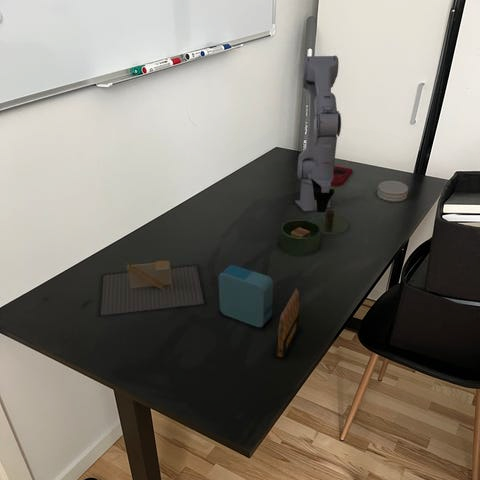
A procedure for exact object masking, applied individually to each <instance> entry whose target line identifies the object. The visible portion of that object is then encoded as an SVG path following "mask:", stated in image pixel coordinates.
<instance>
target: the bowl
mask: <svg viewBox="0 0 480 480" xmlns="http://www.w3.org/2000/svg"><path fill="white" fill-rule="evenodd" d="M299 227H300V228H303V229H305V230H307V231H310V237H306V238H299V237H293V236H290V235H291V232H292V231H293V230H295V229H297V228H299ZM321 234H322V233H321V229H320V226H319V225H318V224H316V223H314V222H312V221H310V220H308V219H302V218H301V219H297V218H296V219H290V220H287V221H285V222H284V223H282V225H281V226H280V238H279V239H280V240H279V242H280V243H279V245H280V247H281V248H282V249H283V250H285V251H286V252H288V253H292V254H297V255H298V254H299V255H304V254H309V253H313V252H315V251H317V250H318V249H319V247H320V243H321Z"/></svg>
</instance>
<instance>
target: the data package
mask: <svg viewBox="0 0 480 480" xmlns="http://www.w3.org/2000/svg"><path fill="white" fill-rule="evenodd" d="M218 295H219V310H220V312H221V314H222V315H224V316H226V317H229V318H232V319H233V320H237V321H240V322H242V323H245V324H248V325H249V326H253V327H256V328H262V327H264V325H265V324H266V323H267V322H268V321H269V320H270V319H271V317H272V316H273V301H274V299H273V297H274V281H273V278H271V276H269V275H266V274H263V273H260V272H256V271H253V270H250V269H247V268H245V267H240V266H237V265H234V264H229V266H227V268H225V269H224V270H223V271H222V272H221V273H219V274H218Z"/></svg>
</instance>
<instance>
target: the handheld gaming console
mask: <svg viewBox="0 0 480 480" xmlns="http://www.w3.org/2000/svg"><path fill="white" fill-rule="evenodd" d="M352 172H353V169H352V168H348V167H342V166H337V165H334V170H333V175H334V177H333V180H332V182H331V187H333V186H334V187H338V186H339V187H340V186H342V185H343V184H344V183H345V182H346V180H348V178H349V177H350V175H351V174H352Z"/></svg>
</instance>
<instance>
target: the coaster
mask: <svg viewBox="0 0 480 480" xmlns="http://www.w3.org/2000/svg"><path fill="white" fill-rule="evenodd" d="M376 191H377V192H376V196H377V197H378V198H379V199H381V200H383V201H386V202H391V203H393V202H394V203H398V202H399V203H400V202H402V201H404V200H406V199H407V198H408V194H409V192H408V191H409V186H408V185H407V184H405V183H404V182H402V181H398V180H383V181H381V182H380V183H378V185H377V190H376Z"/></svg>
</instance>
